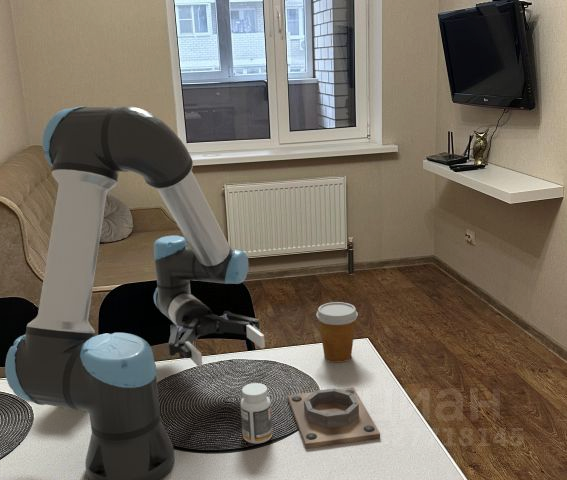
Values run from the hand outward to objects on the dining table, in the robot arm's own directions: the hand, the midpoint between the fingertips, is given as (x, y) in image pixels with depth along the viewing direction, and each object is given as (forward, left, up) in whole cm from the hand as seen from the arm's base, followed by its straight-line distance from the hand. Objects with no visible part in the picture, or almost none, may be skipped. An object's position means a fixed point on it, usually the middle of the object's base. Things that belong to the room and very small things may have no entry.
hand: (232, 350), depth 127 cm
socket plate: (+18, -7, -13) cm, 23 cm away
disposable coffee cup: (+26, +19, -14) cm, 35 cm away
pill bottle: (+3, -10, -14) cm, 17 cm away
